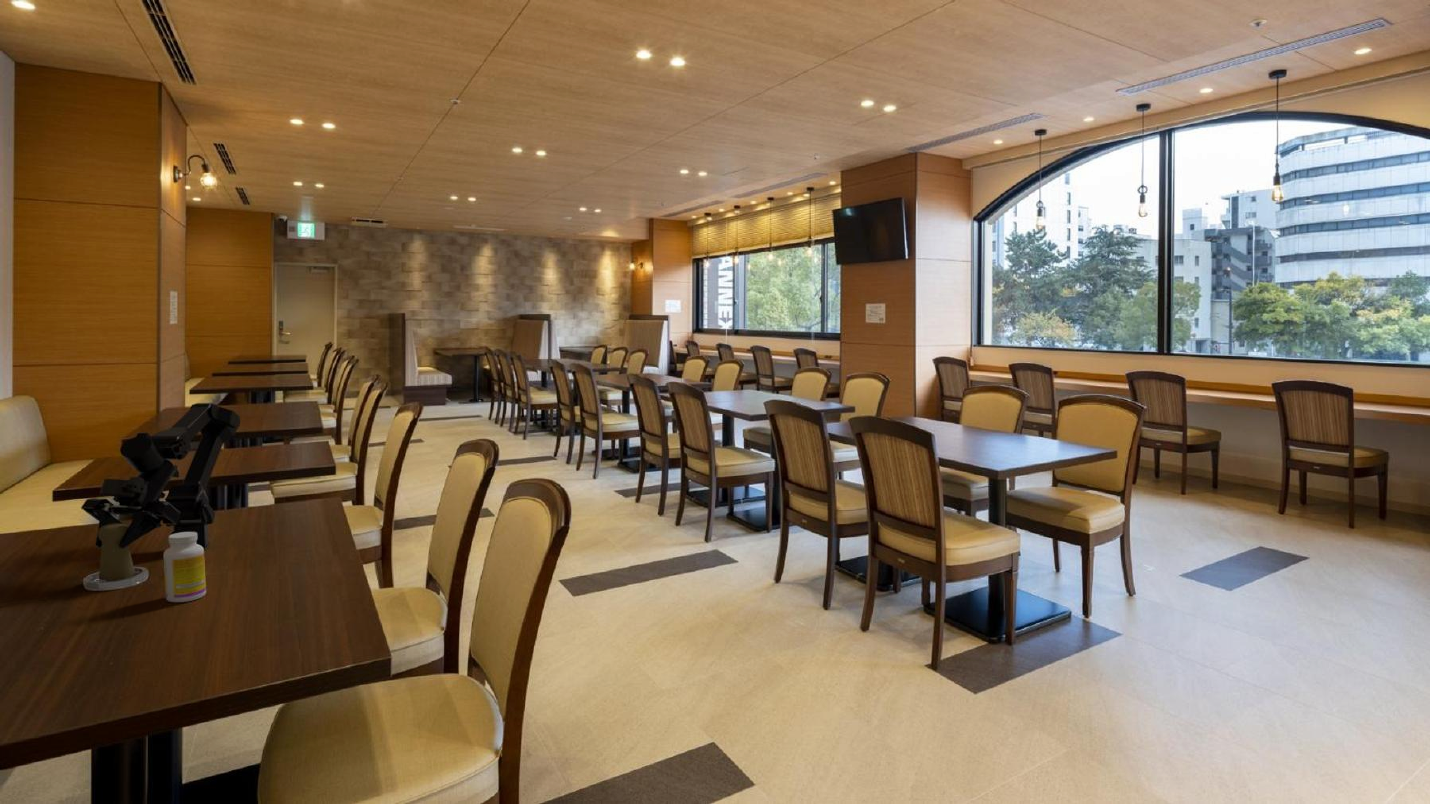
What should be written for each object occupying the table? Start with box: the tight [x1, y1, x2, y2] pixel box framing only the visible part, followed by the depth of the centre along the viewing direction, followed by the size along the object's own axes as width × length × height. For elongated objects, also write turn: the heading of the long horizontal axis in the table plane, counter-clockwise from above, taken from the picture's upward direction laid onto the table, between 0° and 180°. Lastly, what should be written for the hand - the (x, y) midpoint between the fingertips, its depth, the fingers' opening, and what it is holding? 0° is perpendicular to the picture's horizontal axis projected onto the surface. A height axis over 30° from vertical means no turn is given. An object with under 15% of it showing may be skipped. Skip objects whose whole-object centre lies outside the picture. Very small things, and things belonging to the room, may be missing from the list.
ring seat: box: [82, 566, 149, 592], centre depth 160 cm, size 10×10×2 cm
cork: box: [97, 522, 135, 580], centre depth 160 cm, size 6×6×11 cm
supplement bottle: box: [163, 532, 207, 603], centre depth 151 cm, size 7×7×13 cm
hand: (109, 546), depth 158 cm, fingers closed on cork, 5 cm apart
